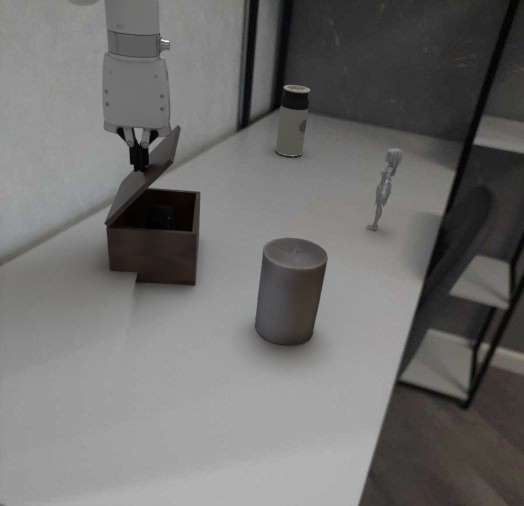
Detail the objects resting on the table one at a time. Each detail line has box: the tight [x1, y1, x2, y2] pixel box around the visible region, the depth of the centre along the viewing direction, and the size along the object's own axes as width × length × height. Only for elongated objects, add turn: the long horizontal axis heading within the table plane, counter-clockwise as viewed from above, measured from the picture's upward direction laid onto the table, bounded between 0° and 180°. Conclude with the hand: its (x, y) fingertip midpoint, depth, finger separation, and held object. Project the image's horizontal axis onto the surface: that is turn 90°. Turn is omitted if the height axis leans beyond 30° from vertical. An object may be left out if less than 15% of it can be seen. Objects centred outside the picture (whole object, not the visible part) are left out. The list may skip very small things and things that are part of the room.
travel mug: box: [275, 84, 311, 155], centre depth 151 cm, size 8×8×18 cm
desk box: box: [105, 187, 201, 286], centre depth 95 cm, size 15×19×10 cm
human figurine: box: [366, 147, 403, 231], centre depth 114 cm, size 12×4×18 cm, turn 163°
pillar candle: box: [254, 237, 329, 346], centre depth 80 cm, size 10×10×15 cm
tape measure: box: [145, 203, 175, 231], centre depth 95 cm, size 15×4×8 cm, turn 176°
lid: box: [103, 124, 182, 228], centre depth 88 cm, size 15×19×1 cm
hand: (139, 169), depth 88 cm, fingers closed
